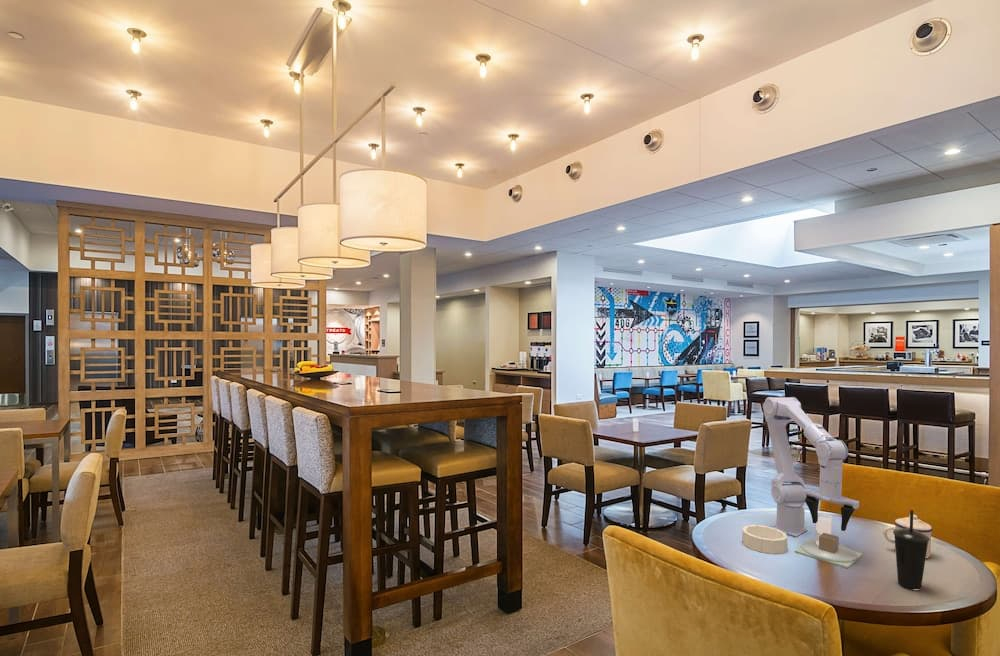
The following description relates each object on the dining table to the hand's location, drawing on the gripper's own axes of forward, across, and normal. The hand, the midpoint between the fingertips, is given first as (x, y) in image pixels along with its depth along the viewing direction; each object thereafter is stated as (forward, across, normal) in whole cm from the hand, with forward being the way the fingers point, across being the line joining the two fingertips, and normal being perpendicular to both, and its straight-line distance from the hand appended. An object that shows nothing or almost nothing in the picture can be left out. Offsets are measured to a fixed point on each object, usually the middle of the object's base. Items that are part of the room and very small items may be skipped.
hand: (829, 526), depth 163 cm
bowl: (+8, -15, -9) cm, 19 cm away
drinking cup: (+8, +21, -6) cm, 24 cm away
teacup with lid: (+8, +15, +20) cm, 26 cm away
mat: (+8, 0, 0) cm, 8 cm away
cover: (+8, 0, 0) cm, 8 cm away
